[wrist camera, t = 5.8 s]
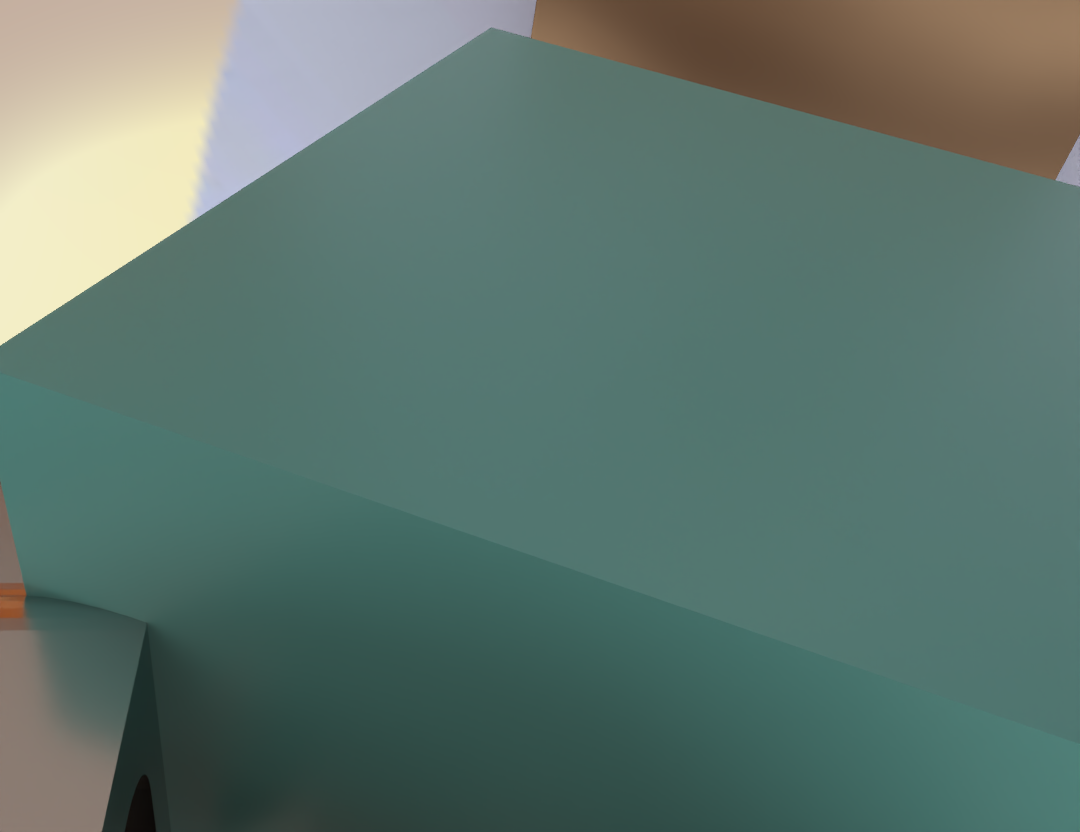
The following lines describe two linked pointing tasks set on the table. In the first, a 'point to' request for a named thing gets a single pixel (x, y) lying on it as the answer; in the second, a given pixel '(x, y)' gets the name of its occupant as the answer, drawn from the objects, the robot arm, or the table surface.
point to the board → (864, 63)
